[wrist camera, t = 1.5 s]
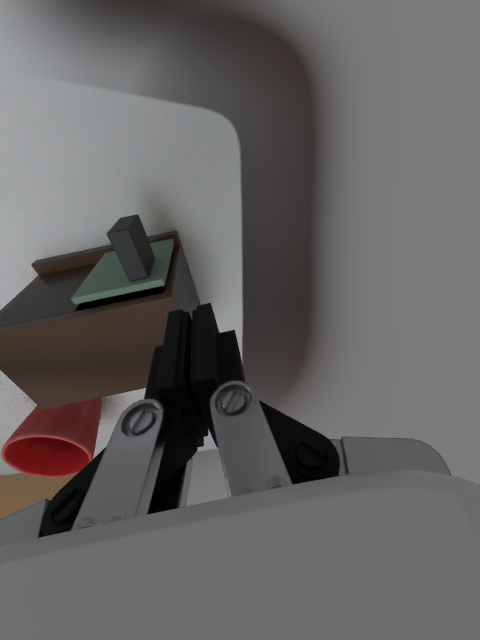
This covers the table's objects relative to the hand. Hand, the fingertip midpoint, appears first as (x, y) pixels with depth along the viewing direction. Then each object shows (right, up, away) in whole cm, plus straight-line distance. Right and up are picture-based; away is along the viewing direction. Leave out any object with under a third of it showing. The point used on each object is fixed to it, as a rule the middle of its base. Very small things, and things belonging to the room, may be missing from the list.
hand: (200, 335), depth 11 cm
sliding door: (-9, +10, +16) cm, 21 cm away
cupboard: (-12, +4, +21) cm, 25 cm away
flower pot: (-25, -12, +32) cm, 42 cm away
